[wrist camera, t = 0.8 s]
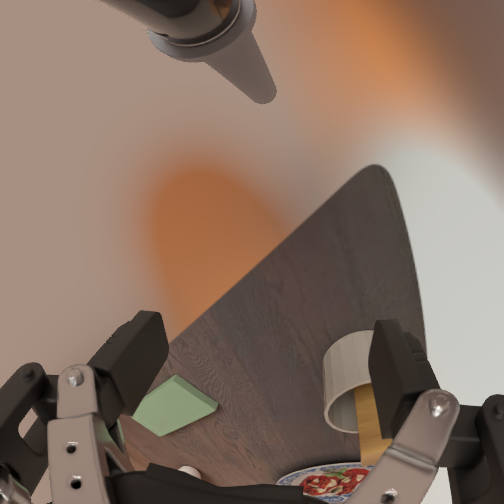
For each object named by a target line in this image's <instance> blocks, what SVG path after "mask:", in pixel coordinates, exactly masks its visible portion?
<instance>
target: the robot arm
mask: <svg viewBox="0 0 504 504" xmlns="http://www.w3.org/2000/svg"><path fill="white" fill-rule="evenodd" d="M96 1H98V2H100V3H102V4H104V5H106V6H108V7H110V8H112V9H114V10H116V11H118V12H119V13H121V14H123V15H125V16H127V17H129V18H131V19H132V20H134V21H136V22H138V23H139V24H141V25H143V26H144V27H146V28H148V29H149V30H151V31H152V32H154V33H156V34H155V35H157V36H160V37H161V38H163V39H164V40H165V41H167V42H169V43H170V44H172V45H175V46H179V47H186V48H192V47H199V46H203V45H206V44H209V43H211V42H214V41H216V40H217V39H219V38H221V37H222V36H224V35H225V34H226V33H227V32H228V31H229V30H230V29H231V28H232V27H233V26H234V24H235V23H236V21H237V20H238V18H239V15H240V12H241V0H96ZM148 32H149V31H148ZM152 32H150V33H152ZM154 33H153V34H154ZM423 351H424V350H423V348H422V346H421V344H420V342H419V340H418V339H417V338H415V337H414V336H413V335H412V334H411V333H410V332H409V333H403V331H402V329H401V327H400V324H399V322H398V320H396V319H395V320H377V321H376V323H375V326H374V331H373V336H372V341H371V346H370V350H369V355H368V370H369V374H370V379H371V384H372V388H373V393H374V398H375V403H376V409H377V414H378V419H379V425H380V431H381V437H382V440H383V439H391V438H392V439H393V441H392V443H391V444H390V446H388V447H387V449H386V450H385V451H384V453H383V454H382V456H381V457H380V458H379V460H378V461H377V463H376V464H375V465H374V467H373V468H372V469H371V471H370V472H369V473H368V475H367V476H366V477H365V478H364V480H363V481H362V482H361V483H360V485H359V486H358V487H357V488H356V490H355V491H354V492H353V493H352V494H351V495H350V497H349V498H348V499H347V500H346V501H345V502H344V503H343V504H420V503H421V502H422V500H423V498H424V497H425V495H426V493H427V491H428V490H429V488H430V486H431V484H432V482H433V480H434V478H435V476H436V474H437V472H438V469H439V467H447V471H448V476H449V482H450V489H451V496H452V504H504V395H500V394H496V395H492V396H490V397H488V398H487V399H486V400H485V402H484V404H483V405H482V406H468V405H460V404H459V402H458V400H457V399H456V398H455V397H454V395H452V394H451V393H449V392H448V391H445V390H442V389H441V388H440V386H439V384H438V381H437V379H436V377H435V374H434V372H433V370H432V368H431V365H430V363H429V361H427V357H426V354H425V352H423ZM168 352H169V345H168V341H167V337H166V332H165V329H164V324H163V320H162V316H161V314H160V313H159V312H153V311H143V310H141V311H139V312H138V313H137V315H136V316H135V317H134V318H133V319H132V320H131V321H128V322H127V323H125V324H124V325H122V326H120V327H119V328H118V329H117V330H116V331H115V332H114V333H113V335H112V337H110V338H109V339H108V340H107V341H106V343H104V345H103V346H102V347H101V348H100V349H99V350H98V351H97V352H96V354H95V355H94V356H93V357H92V358H91V360H90V361H89V362H88V363H87V364H86V365H85V364H76V365H72V366H70V367H68V368H66V369H65V370H63V371H62V373H61V374H60V375H46V373H45V371H44V369H43V368H42V366H41V365H40V364H39V363H34V362H32V363H27V364H25V365H23V366H21V367H20V368H19V369H18V370H17V371H16V372H15V373H14V374H13V375H12V376H11V377H10V378H9V380H8V381H7V382H6V383H5V384H4V385H3V386H2V388H1V389H0V504H33V503H31V496H32V494H33V492H34V490H35V489H36V487H37V485H38V483H39V481H40V480H41V478H42V476H43V474H44V473H45V471H46V469H47V467H48V466H49V477H50V487H51V494H52V502H50V503H47V504H329V503H327V502H325V501H323V500H321V499H318V498H315V497H312V496H308V495H304V494H303V491H304V486H292V485H272V484H258V485H248V486H235V487H219V486H216V485H213V484H211V483H208V482H206V481H204V480H201V479H199V478H197V477H195V476H193V475H190V474H188V473H186V472H184V471H180V470H176V469H172V468H168V467H164V466H161V465H157V464H154V463H150V464H149V466H148V468H147V470H146V471H135V470H134V468H133V466H132V464H131V462H130V459H129V456H128V452H127V449H126V445H125V441H124V437H123V433H122V429H121V425H120V422H119V420H118V417H119V416H120V414H124V415H127V416H131V417H133V415H134V413H135V412H136V410H137V408H138V406H139V405H140V403H141V401H142V400H143V398H144V396H145V394H146V393H147V391H148V389H149V388H150V386H151V384H152V383H153V381H154V379H155V377H156V376H157V374H158V372H159V371H160V369H161V367H162V366H163V364H164V362H165V361H166V359H167V356H168ZM31 408H32V409H33V411H34V412H35V414H36V415H37V416H38V418H37V419H36V421H35V422H34V424H33V425H32V426H31V428H30V429H29V430H28V432H27V434H26V435H25V436H24V438H23V439H22V438H21V436H20V435H19V432H18V427H19V424H20V422H21V421H22V419H23V418H24V417H25V415H26V414H27V413H28V411H29V410H30V409H31Z"/></svg>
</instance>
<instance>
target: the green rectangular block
mask: <svg viewBox="0 0 504 504" xmlns="http://www.w3.org/2000/svg"><path fill="white" fill-rule="evenodd" d="M217 406H218V403H217V402H216V401H214V400H213V399H211V398H210V397H208V396H207V395H205V394H204V393H202V392H201V391H199V390H198V389H197V388H195V387H194V386H192V385H191V384H190V383H188V382H187V381H185V380H184V379H183V378H181V377H180V376H179V375H177V374H175V375H174V376H173V377H171V378H170V379H169V380H167V381H166V382H164V383H163V384H162V385H160V386H159V387H158V388H156V389H155V390H153V391H152V392H151V393H149V394H148V395H146V396H145V397H144V398H143V400H142V401H141V403H140V405H139V406H138V408H137V410H136V412H135V413H134V415H133V417H131V416H130V417H131V418H133V419H134V420H136V421H137V422H139V423H140V424H141V425H143V426H144V427H146V428H147V429H149V430H151V431H152V432H154V433H155V434H157V435H158V436H163V435H165V434H167V433H170V432H172V431H174V430H176V429H179V428H181V427H183V426H185V425H187V424H189V423H192V422H194V421H196V420H198V419H200V418H202V417H204V416H206V415H208V414H210V413H212V412H214V411H216V409H217Z"/></svg>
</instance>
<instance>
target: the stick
mask: <svg viewBox="0 0 504 504" xmlns="http://www.w3.org/2000/svg"><path fill="white" fill-rule="evenodd" d="M353 393H354V401H355V409H356V417H357V426H358V435H359V445H360V456H361V467H365V466H370V465H375V464H376V463H377V461H378V460H379V458H380V457H381V456H382V454H383V453H384V451H385V450H386V449H387V447H388V446H390V444H391V443H392V439H383V440H382V437H381V431H380V425H379V419H378V414H377V409H376V403H375V398H374V393H373V388H372V384H371V383H367V384H363V385H360V386H357V387H355V388H353Z"/></svg>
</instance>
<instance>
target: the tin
mask: <svg viewBox="0 0 504 504" xmlns="http://www.w3.org/2000/svg"><path fill="white" fill-rule="evenodd" d="M372 336H373V331H371V330H367V331H359V332H355V333H351V334H349V335H346V336H344V337H342V338H341V339H339V340H337V341H336V342H335V343H334V344H333V345H332V346H331V347H330V348H329V349H328V350H327V352H326V354H325V356H324V358H323V365H322V373H323V396H324V416H325V420H326V422H327V423H328V424H329V425H330V426H331V427H332V428H334V429H337V430H339V431H342V432H348V433H358V426H357V417H356V409H355V401H354V393H353V388H355V387H357V386H360V385H363V384H367V383H371V379H370V374H369V370H368V355H369V350H370V346H371V341H372Z"/></svg>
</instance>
